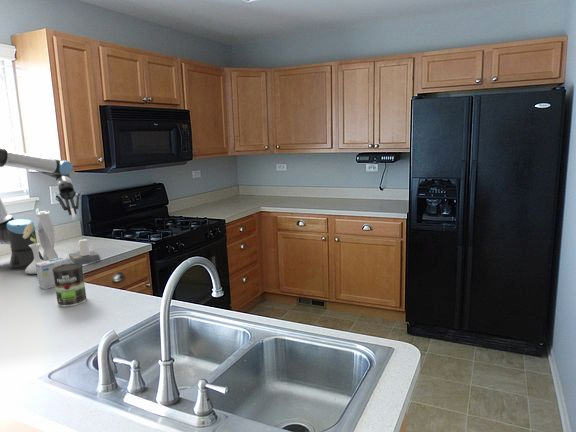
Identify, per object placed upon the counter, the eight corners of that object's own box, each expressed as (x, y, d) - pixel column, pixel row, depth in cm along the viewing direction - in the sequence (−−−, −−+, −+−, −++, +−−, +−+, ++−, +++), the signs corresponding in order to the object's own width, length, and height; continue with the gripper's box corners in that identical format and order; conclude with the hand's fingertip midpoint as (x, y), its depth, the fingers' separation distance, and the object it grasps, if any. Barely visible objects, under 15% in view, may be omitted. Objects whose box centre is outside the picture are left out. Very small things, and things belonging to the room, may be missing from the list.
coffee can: (84, 304, 163) (79, 269, 161) (54, 308, 161) (49, 272, 158) (89, 295, 173) (84, 261, 170) (61, 299, 170) (55, 265, 168)
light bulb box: (63, 279, 195) (60, 256, 193) (70, 282, 191) (66, 259, 189) (38, 286, 187) (34, 263, 185) (44, 289, 183) (40, 265, 180)
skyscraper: (39, 261, 228) (30, 209, 223) (52, 257, 235) (43, 206, 229) (49, 262, 225) (40, 209, 219) (61, 258, 231) (53, 207, 226)
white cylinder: (81, 256, 220) (79, 241, 219) (80, 254, 224) (77, 240, 222) (90, 254, 223) (87, 240, 221) (88, 253, 226) (86, 238, 224)
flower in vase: (26, 271, 211) (18, 221, 206) (52, 267, 216) (45, 218, 211) (24, 278, 199) (15, 225, 195) (52, 273, 204) (44, 222, 200)
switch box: (74, 264, 218) (73, 259, 217) (69, 259, 229) (68, 253, 228) (99, 260, 225) (98, 254, 224) (93, 254, 236) (92, 249, 235)
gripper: (77, 189, 253) (86, 221, 242) (52, 191, 245) (61, 224, 235) (78, 180, 247) (87, 213, 237) (52, 183, 240) (61, 216, 230)
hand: (74, 218), depth 236 cm, fingers closed
